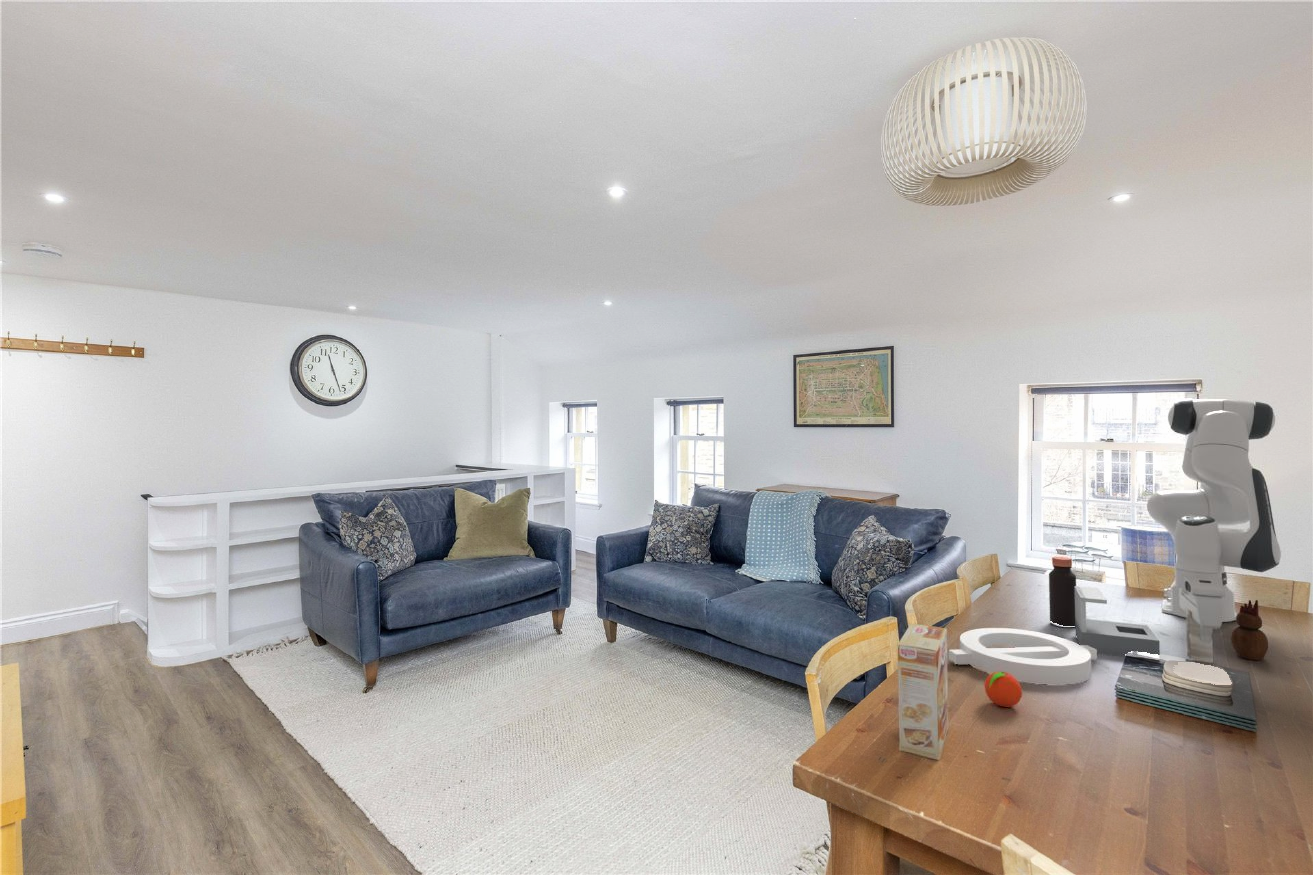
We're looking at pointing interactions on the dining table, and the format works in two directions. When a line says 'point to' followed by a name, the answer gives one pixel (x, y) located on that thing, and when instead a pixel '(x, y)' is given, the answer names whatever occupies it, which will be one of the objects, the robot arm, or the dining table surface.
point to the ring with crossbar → (1026, 655)
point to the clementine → (1003, 689)
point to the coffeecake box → (923, 690)
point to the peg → (1197, 641)
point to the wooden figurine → (1249, 634)
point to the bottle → (1062, 592)
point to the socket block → (1110, 629)
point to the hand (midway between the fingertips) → (1199, 636)
